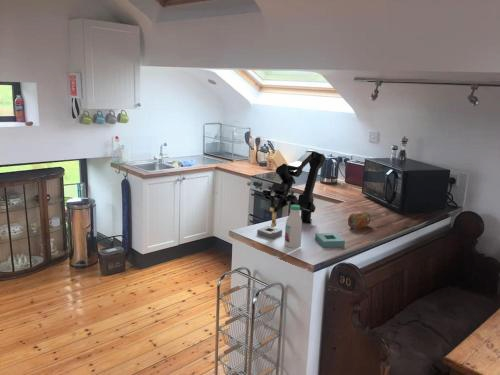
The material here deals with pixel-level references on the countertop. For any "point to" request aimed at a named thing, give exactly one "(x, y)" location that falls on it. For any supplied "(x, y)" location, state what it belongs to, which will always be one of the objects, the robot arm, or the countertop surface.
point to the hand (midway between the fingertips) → (273, 211)
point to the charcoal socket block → (269, 232)
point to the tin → (359, 220)
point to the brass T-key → (273, 215)
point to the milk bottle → (293, 228)
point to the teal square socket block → (329, 240)
